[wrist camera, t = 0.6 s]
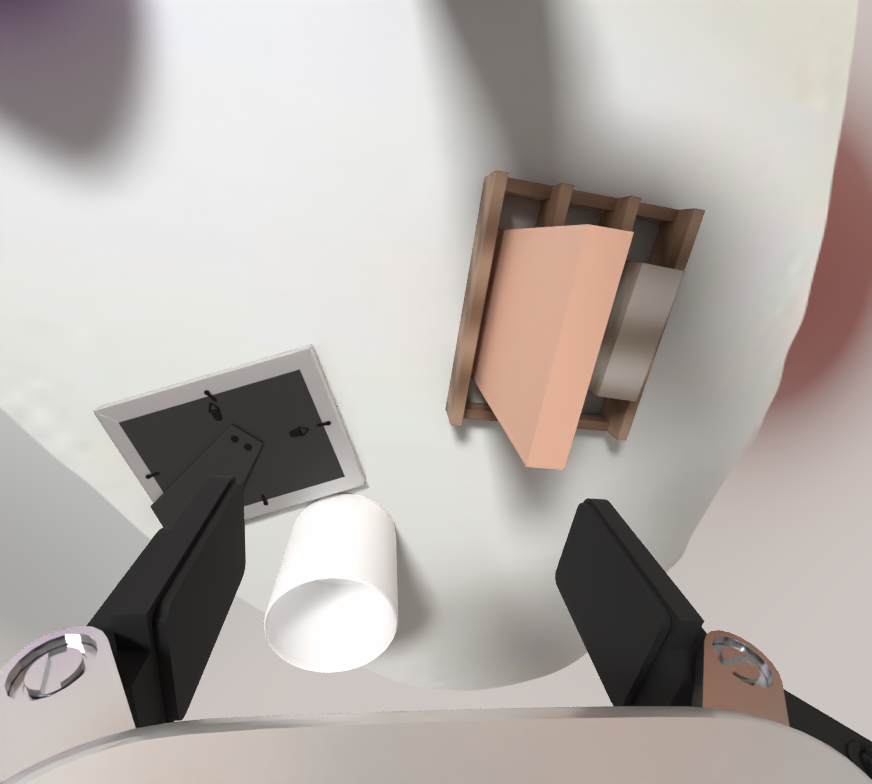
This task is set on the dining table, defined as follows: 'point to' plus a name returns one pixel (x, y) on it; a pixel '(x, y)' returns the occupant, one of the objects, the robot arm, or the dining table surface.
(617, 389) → the grey offcut
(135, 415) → the picture frame
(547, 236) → the plywood sheet
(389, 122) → the dining table surface
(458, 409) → the offcut rack
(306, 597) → the cup
